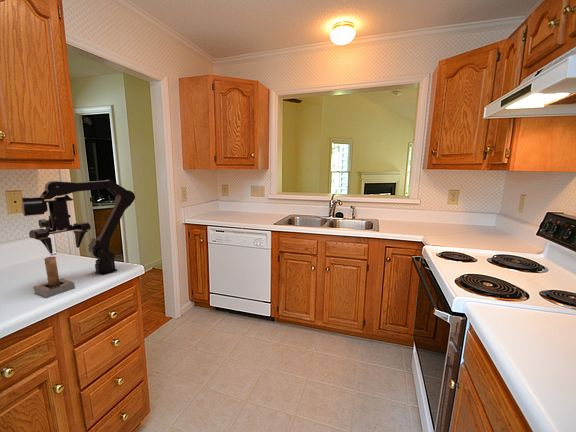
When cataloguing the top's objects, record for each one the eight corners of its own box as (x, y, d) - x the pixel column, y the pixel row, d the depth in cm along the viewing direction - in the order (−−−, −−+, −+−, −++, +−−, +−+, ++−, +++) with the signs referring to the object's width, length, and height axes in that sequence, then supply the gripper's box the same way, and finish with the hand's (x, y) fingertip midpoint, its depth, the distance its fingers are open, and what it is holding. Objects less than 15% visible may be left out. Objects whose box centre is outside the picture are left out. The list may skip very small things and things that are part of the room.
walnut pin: (58, 288, 106) (52, 256, 104) (62, 289, 105) (57, 257, 103) (48, 291, 104) (42, 258, 101) (52, 293, 102) (46, 259, 100)
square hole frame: (62, 284, 110) (61, 278, 110) (74, 288, 106) (74, 282, 106) (34, 293, 102) (33, 286, 102) (46, 297, 98) (45, 291, 98)
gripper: (74, 208, 120) (79, 242, 123) (19, 214, 104) (26, 254, 107) (89, 210, 115) (94, 245, 118) (33, 217, 99) (40, 258, 102)
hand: (65, 250), depth 111 cm, fingers open, 9 cm apart
